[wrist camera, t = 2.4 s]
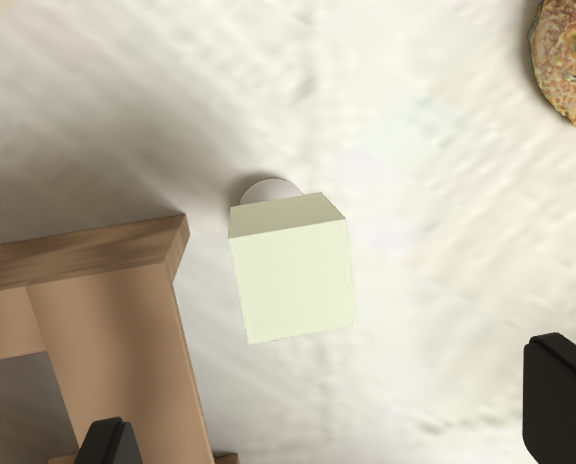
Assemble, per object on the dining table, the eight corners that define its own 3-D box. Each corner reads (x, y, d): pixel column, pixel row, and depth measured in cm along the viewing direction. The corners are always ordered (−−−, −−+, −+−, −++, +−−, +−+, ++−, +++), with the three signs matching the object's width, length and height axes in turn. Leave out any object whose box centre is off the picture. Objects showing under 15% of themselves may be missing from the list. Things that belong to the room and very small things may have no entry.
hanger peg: (303, 173, 32) (346, 218, 19) (312, 240, 33) (358, 324, 21) (232, 184, 31) (227, 239, 19) (244, 252, 33) (248, 344, 20)
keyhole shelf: (185, 214, 31) (162, 262, 22) (240, 468, 38) (241, 592, 28) (-115, 263, 30) (-278, 337, 21) (-6, 517, 36) (-93, 664, 27)
